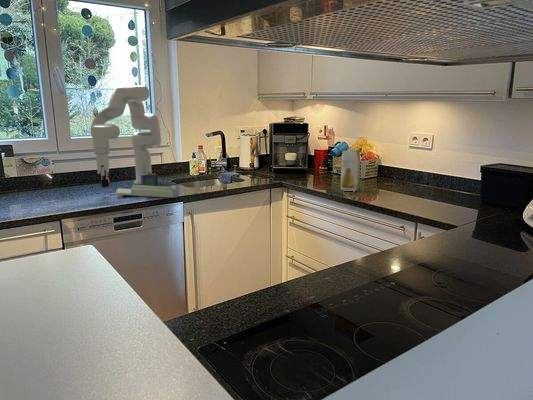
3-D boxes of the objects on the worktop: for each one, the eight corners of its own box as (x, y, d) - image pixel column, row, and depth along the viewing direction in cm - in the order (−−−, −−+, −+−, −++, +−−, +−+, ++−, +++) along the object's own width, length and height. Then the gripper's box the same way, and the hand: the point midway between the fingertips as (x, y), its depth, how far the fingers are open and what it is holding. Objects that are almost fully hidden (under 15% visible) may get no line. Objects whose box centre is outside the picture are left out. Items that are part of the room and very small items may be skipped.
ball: (102, 184, 211) (101, 176, 210) (110, 183, 212) (109, 176, 211) (101, 185, 207) (100, 178, 206) (109, 185, 208) (108, 177, 207)
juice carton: (339, 191, 228) (340, 148, 223) (343, 189, 235) (345, 147, 230) (355, 193, 224) (357, 149, 219) (359, 190, 230) (361, 148, 225)
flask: (141, 190, 232) (140, 172, 229) (141, 189, 234) (140, 171, 232) (158, 189, 234) (157, 171, 232) (157, 188, 237) (156, 170, 235)
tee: (103, 199, 211) (103, 196, 211) (109, 198, 212) (108, 195, 212) (103, 200, 209) (103, 197, 209) (108, 199, 210) (108, 196, 209)
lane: (118, 196, 217) (117, 185, 216) (175, 193, 225) (174, 182, 224) (116, 201, 207) (115, 189, 206) (176, 197, 215) (176, 186, 214)
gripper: (95, 148, 212) (99, 183, 217) (91, 153, 196) (96, 190, 201) (111, 148, 214) (114, 182, 219) (108, 152, 198) (112, 189, 203)
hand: (105, 185), depth 210 cm, fingers closed on ball, 3 cm apart
